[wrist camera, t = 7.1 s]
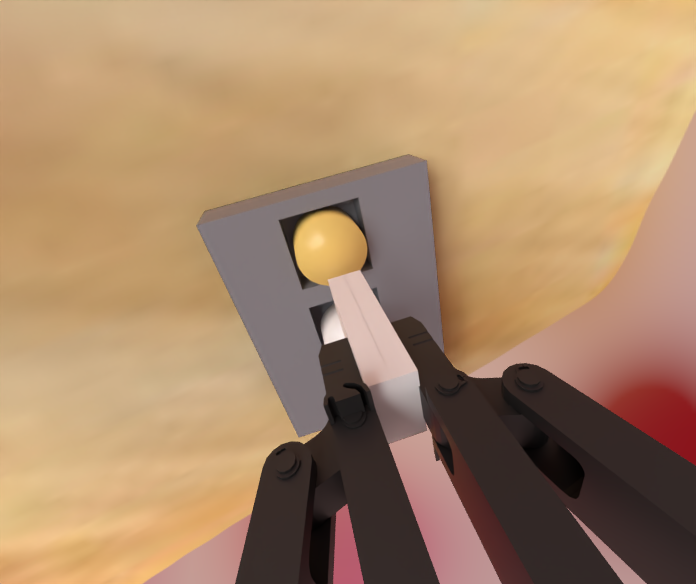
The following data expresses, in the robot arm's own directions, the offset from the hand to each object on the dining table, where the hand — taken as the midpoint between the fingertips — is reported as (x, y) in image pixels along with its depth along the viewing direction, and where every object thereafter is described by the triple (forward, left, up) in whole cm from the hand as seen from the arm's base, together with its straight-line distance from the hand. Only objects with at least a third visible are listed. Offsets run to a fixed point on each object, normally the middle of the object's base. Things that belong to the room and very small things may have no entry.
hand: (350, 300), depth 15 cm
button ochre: (0, 0, -9) cm, 9 cm away
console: (+7, 0, -10) cm, 12 cm away
